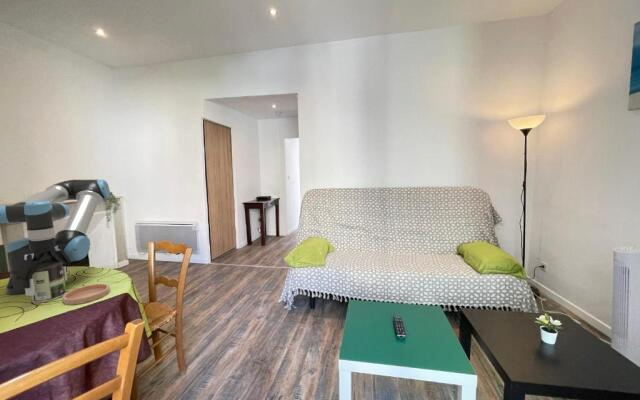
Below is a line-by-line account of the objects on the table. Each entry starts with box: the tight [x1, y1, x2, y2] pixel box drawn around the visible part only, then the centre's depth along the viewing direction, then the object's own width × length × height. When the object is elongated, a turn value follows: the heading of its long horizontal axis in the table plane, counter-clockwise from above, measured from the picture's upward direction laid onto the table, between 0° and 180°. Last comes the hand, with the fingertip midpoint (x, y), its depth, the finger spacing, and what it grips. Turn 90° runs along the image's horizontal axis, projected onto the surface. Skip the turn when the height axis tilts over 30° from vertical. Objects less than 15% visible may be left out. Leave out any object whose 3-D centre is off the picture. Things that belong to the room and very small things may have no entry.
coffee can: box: [30, 261, 67, 304], centre depth 108 cm, size 10×10×14 cm
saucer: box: [61, 283, 111, 306], centre depth 109 cm, size 15×15×2 cm
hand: (47, 287), depth 108 cm, fingers open, 13 cm apart
